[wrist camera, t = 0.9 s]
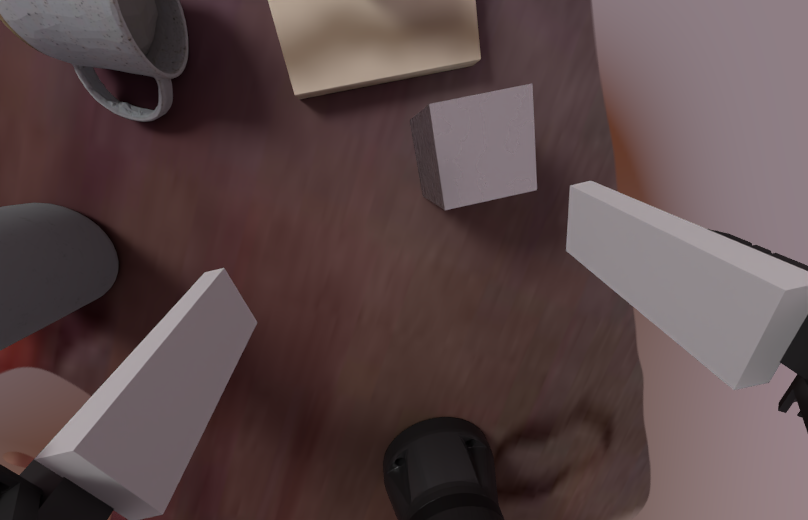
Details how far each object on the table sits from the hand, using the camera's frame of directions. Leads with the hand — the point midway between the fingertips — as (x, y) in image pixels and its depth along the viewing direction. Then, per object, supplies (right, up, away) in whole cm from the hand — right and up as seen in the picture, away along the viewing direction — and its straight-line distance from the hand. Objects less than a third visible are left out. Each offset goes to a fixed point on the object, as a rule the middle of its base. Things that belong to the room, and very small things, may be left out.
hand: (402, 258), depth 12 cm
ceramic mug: (-21, +17, +13) cm, 30 cm away
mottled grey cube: (+5, +11, +18) cm, 22 cm away
